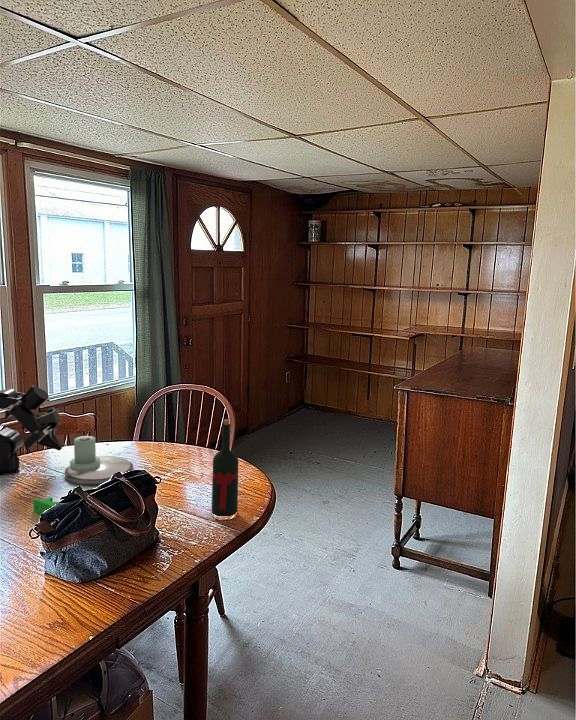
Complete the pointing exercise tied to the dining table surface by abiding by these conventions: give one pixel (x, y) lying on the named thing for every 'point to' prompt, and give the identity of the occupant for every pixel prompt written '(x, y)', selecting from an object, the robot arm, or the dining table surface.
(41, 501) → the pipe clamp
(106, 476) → the turntable
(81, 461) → the sage green cylinder
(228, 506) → the wine bottle
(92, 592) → the dining table surface
